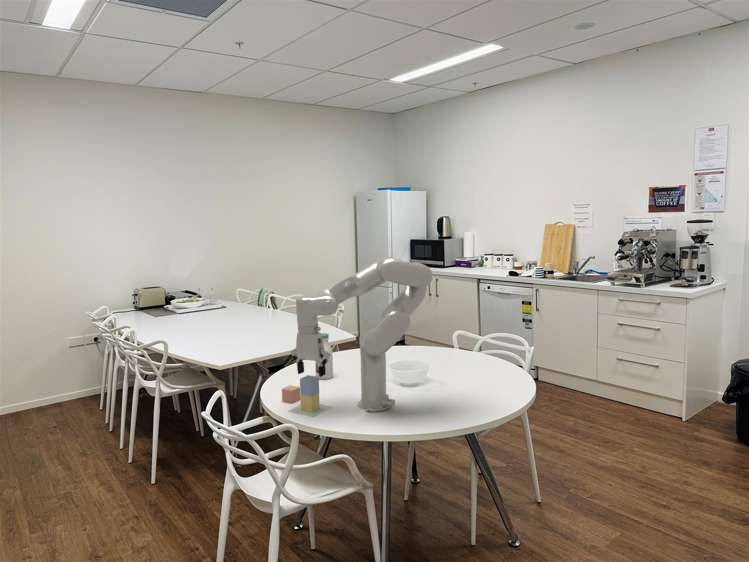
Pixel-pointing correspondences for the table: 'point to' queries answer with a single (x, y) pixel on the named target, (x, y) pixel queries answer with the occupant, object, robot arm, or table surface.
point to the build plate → (312, 414)
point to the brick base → (309, 402)
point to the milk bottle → (330, 363)
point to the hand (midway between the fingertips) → (311, 374)
